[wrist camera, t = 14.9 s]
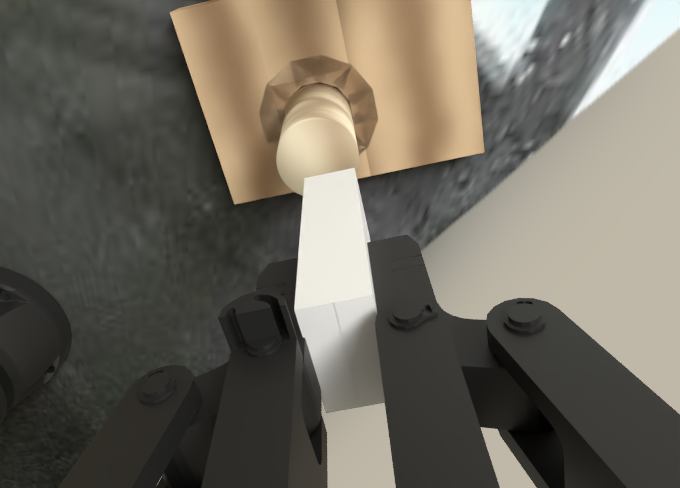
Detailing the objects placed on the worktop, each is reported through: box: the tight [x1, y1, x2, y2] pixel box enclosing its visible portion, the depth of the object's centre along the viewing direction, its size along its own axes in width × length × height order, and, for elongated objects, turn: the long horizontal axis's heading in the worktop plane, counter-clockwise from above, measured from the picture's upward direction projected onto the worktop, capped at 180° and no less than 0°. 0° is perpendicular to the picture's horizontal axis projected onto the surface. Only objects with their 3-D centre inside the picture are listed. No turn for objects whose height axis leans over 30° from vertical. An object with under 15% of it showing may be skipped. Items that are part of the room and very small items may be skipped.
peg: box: [276, 83, 359, 196], centre depth 41 cm, size 6×6×13 cm
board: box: [170, 0, 484, 205], centre depth 45 cm, size 22×16×3 cm
